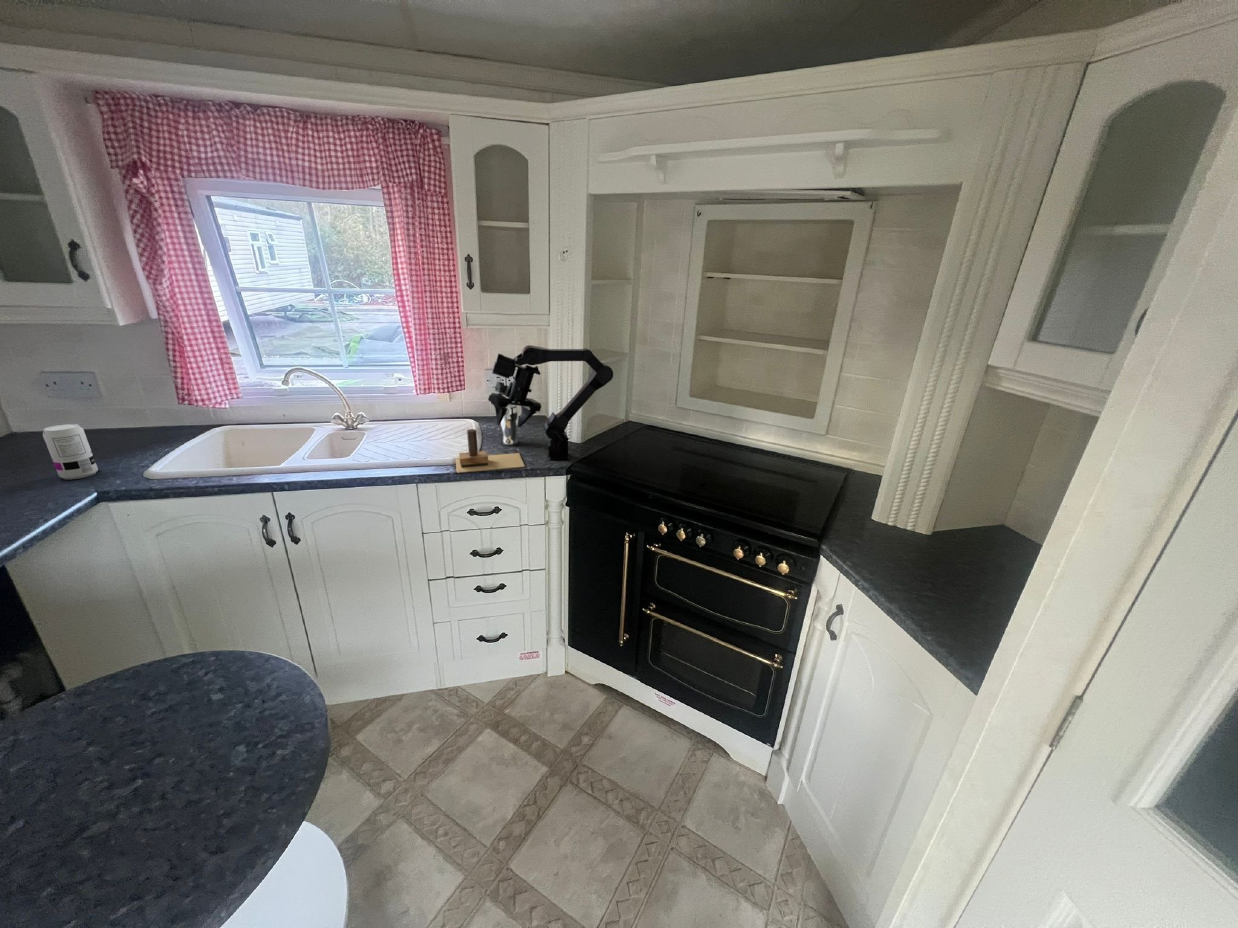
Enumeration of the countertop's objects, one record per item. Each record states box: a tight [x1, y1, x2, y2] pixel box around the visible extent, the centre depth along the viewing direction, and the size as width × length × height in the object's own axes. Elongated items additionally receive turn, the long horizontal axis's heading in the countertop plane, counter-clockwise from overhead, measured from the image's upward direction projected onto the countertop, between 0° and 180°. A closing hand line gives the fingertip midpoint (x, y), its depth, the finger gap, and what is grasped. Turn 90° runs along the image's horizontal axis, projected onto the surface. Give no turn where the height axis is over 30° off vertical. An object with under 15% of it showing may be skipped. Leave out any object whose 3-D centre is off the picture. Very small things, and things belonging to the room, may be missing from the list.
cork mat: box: [454, 452, 526, 474], centre depth 169 cm, size 22×14×1 cm, turn 109°
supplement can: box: [42, 423, 99, 480], centre depth 146 cm, size 8×8×15 cm
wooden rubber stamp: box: [458, 428, 489, 468], centre depth 165 cm, size 9×6×12 cm, turn 109°
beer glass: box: [500, 404, 519, 447], centre depth 187 cm, size 7×7×15 cm
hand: (508, 425), depth 169 cm, fingers open, 9 cm apart
